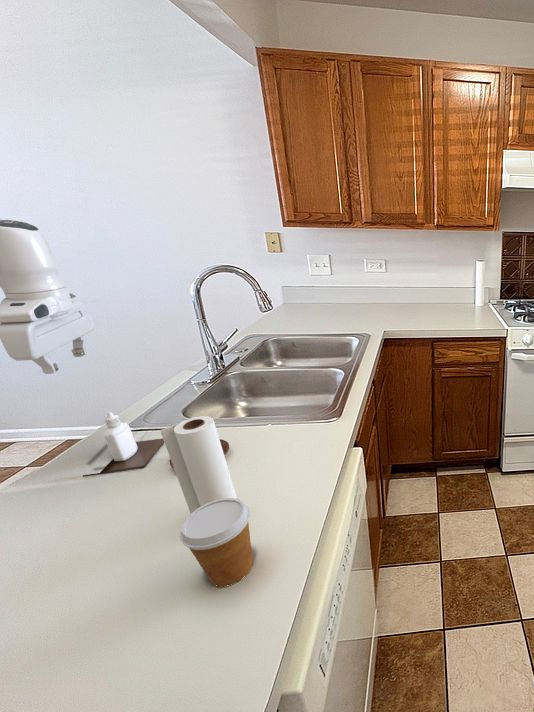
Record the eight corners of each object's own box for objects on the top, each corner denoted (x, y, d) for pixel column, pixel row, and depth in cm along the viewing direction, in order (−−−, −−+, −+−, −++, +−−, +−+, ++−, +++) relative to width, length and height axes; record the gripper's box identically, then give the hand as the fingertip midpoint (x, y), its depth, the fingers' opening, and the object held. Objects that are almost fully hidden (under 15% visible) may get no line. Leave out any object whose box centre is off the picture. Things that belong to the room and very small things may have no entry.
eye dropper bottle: (145, 450, 98) (128, 408, 94) (119, 463, 93) (100, 420, 89) (133, 446, 100) (116, 405, 95) (107, 459, 95) (88, 416, 90)
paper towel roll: (247, 507, 81) (221, 417, 73) (222, 529, 76) (191, 435, 68) (219, 500, 83) (191, 412, 75) (193, 521, 78) (159, 428, 70)
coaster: (82, 476, 90) (81, 474, 90) (112, 446, 101) (111, 444, 100) (144, 468, 93) (143, 466, 93) (167, 439, 104) (166, 437, 103)
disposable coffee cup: (190, 603, 62) (166, 547, 58) (209, 554, 71) (190, 502, 66) (256, 588, 65) (239, 533, 60) (268, 542, 73) (253, 491, 68)
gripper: (57, 291, 90) (79, 348, 96) (-20, 317, 72) (13, 384, 78) (91, 290, 92) (110, 346, 97) (23, 315, 74) (52, 381, 79)
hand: (66, 363), depth 87 cm, fingers open, 8 cm apart
